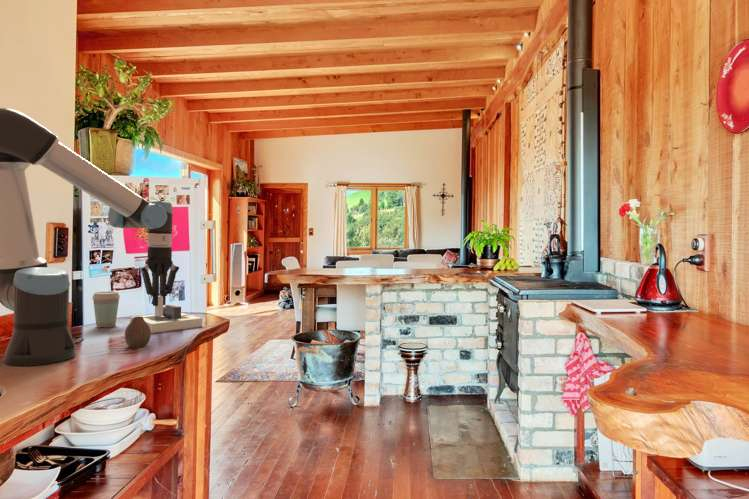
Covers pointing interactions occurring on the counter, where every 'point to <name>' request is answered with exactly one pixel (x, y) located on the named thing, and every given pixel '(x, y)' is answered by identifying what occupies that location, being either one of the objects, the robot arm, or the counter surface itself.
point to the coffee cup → (106, 308)
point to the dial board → (171, 323)
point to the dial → (169, 313)
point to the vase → (137, 333)
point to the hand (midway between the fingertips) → (158, 315)
